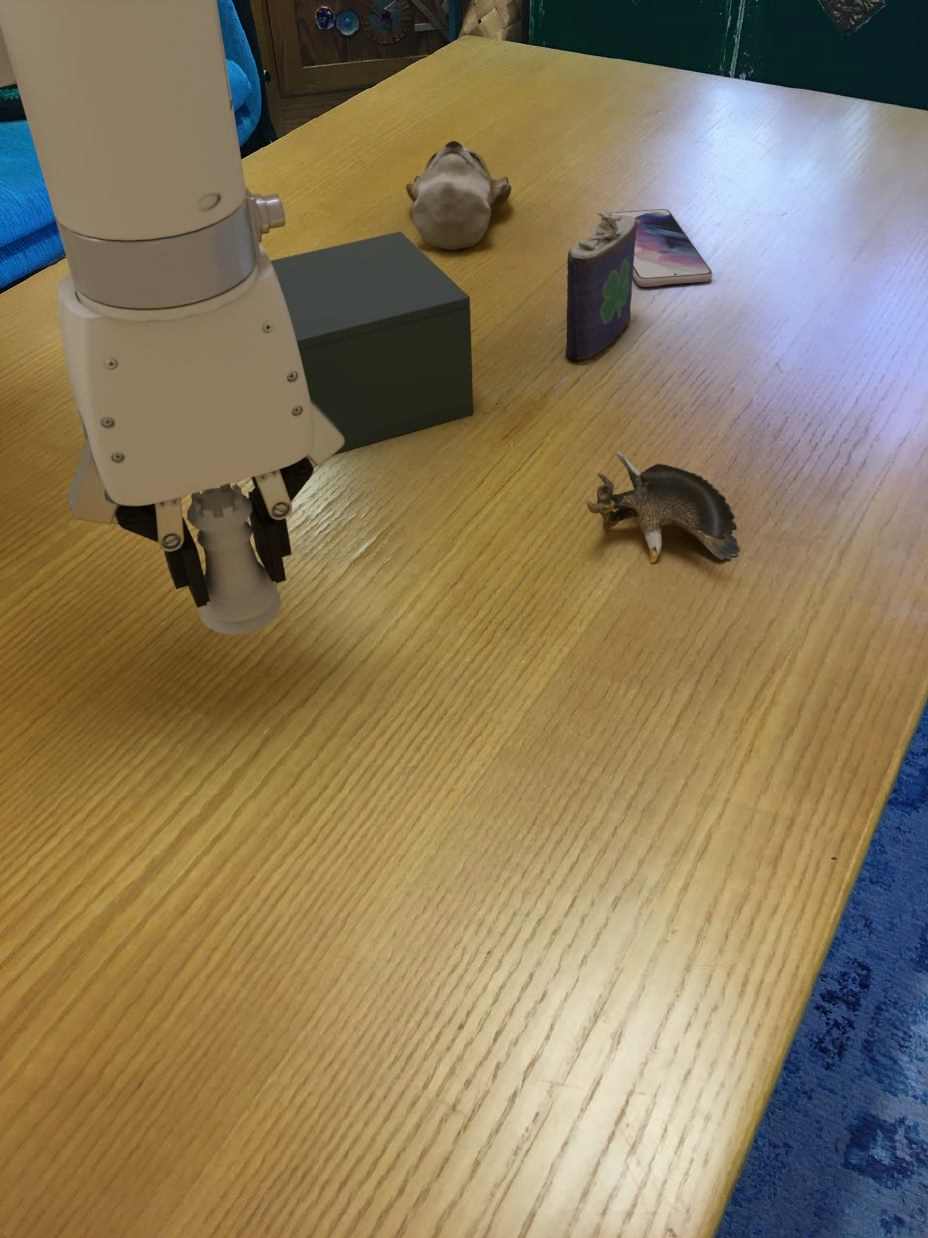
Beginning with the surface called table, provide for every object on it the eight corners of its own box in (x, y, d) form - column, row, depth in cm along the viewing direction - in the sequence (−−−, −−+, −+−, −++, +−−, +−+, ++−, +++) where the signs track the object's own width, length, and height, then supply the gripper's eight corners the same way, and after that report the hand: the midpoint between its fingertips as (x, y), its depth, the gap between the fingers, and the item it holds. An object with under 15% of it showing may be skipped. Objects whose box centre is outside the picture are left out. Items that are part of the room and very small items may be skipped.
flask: (608, 312, 92) (617, 188, 85) (639, 320, 91) (651, 195, 84) (557, 360, 87) (562, 231, 79) (590, 369, 85) (597, 239, 78)
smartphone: (668, 207, 106) (715, 273, 95) (667, 215, 106) (713, 282, 95) (599, 212, 105) (638, 279, 94) (598, 220, 106) (637, 288, 95)
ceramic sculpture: (387, 164, 95) (407, 117, 106) (393, 259, 100) (412, 205, 112) (506, 165, 94) (514, 117, 106) (505, 261, 100) (513, 206, 111)
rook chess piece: (192, 598, 59) (161, 481, 53) (270, 576, 60) (248, 460, 55) (211, 650, 56) (181, 533, 50) (292, 626, 57) (272, 509, 52)
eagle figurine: (586, 569, 66) (736, 568, 63) (583, 453, 65) (735, 446, 62) (610, 556, 73) (745, 555, 70) (607, 451, 72) (745, 445, 69)
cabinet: (278, 470, 77) (256, 350, 70) (229, 388, 85) (205, 274, 78) (473, 414, 81) (470, 296, 75) (408, 342, 90) (400, 230, 83)
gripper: (320, 176, 49) (354, 497, 61) (-60, 249, 44) (63, 582, 56) (382, 241, 44) (405, 575, 56) (-38, 332, 39) (91, 675, 51)
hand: (233, 575), depth 56 cm, fingers closed on rook chess piece, 3 cm apart
